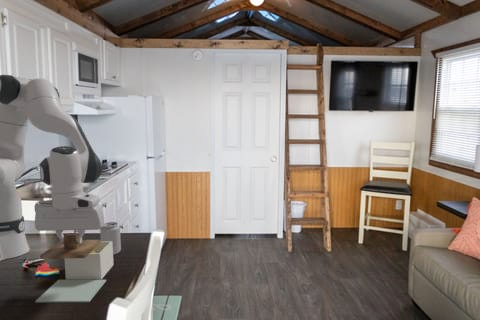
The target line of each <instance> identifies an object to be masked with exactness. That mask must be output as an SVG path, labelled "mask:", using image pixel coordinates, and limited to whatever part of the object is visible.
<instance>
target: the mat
mask: <svg viewBox="0 0 480 320" xmlns="http://www.w3.org/2000/svg"><path fill="white" fill-rule="evenodd" d="M106 282H107V279H94V280H66V279H57V281H56V282H54V283H53V284H52V285H51V286H50V287H49V288H48V289H46V290H45V292H43V293H42V294H41V295H40V296H39V297H38V298H36V300H35V301H34V302H35V303H90V302H91V301H92V299H94V297H95V296H96V295H97V293H98V292H99V290H101V288H102V287H103V286H104V284H105V283H106Z"/></svg>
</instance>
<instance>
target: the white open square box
mask: <svg viewBox="0 0 480 320" xmlns="http://www.w3.org/2000/svg"><path fill="white" fill-rule="evenodd" d="M92 251H94V252H95V253H89V254H88V255H87V256H86V257H85V258H69V259H64V269H65V270H64V271H65V272H64V273H65V280H103V278H105V276H106V275H107V274H108V272H109V271H110V270H111V269H112V268H113V266H114V255H113V244H112V241H101V243H100V244H99V245H98V246H97V247H96V248H94V249H93V250H92Z"/></svg>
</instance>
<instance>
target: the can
mask: <svg viewBox="0 0 480 320" xmlns="http://www.w3.org/2000/svg"><path fill="white" fill-rule="evenodd" d="M99 232H100V233H99V235H100V240H101V241H112V244H113V256H115V255H117V254H119V253H120V252H121V250H122V243H121V226H120V225H119V223H118V222H115V221H109V222H104V225H103V227H102V228H100V229H99Z"/></svg>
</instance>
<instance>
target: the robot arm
mask: <svg viewBox="0 0 480 320" xmlns="http://www.w3.org/2000/svg"><path fill="white" fill-rule="evenodd" d="M29 121H30V123H31V124H32V126H34V128H36V129H38V130H40V131H42V132H46V133H50V134H56V135H60V136H63V137H65V138H67V139H69V140H70V141H71V143H72V144H73V146H74V147H72V146H61V145H60V146H56V147H53V148H52V149H51V150H49V151H50V152H49V156H47V157H45V158H44V159H43V160H42V161H41V162H39V164H38V165H39V171H40V173H39V175H40V176H39V177H40V182H42V183H44V184H46V185H47V186H51V191H50V194H51V199H48V200H43V199H40V200H39V201H37V202H36V203H35V204H34V212H35V213H34V214H35V216H34V227H35V228H34V229H36V230H37V231H38V232H39V231H40V232H42V231H47V232H48V231H54V232H55V235H56V236H57V238H58V239H59V241H60V244H64V238H63V237H64V236H65V235H64V233H63V232H64V231H77V233H78V236H79V237H77V238H75V241H76V242H75V243H76V244H81V243H82V240H83V236H84V234H85V232H86V231H100V228H102V227H103V225H104V223H105V217H104V216H105V215H104V210H103V207H102V205H101V204H99V203H100V202H101V198H100V196H98V195H96V194H92V193H89V192H86V191H84V186H83V184H94V183H95V182H96V181H97V180H98V179H99V178H100V177H101V175H102V173H103V167H102V166H103V165H102V162H101V159H100V158H99V156H98V155H97V154H96V152H95V151H94V149H93V148H92V145H91V144H90V141H89V140H88V138H87V136H86V134H85V132H84V129H82V126H81V124H80V123H79V121H78V120H77V118H75V117H74V116H72V115H70V114H69V113H68V112H67V111H66V110H65V109H64V107H63V106H62V103H61V100H60V93H59V90H58V89H57V88H56V87H55V86H54V85H53V84H52V82H50V81H49V80H47V79H46V78H41V77H40V78H39V77H38V78H33V79H31V78H25V77H21V76H20V77H19V76H13V75H12V74H11V75H10V74H0V262H1V261H3V260H8V259H13V258H16V257H20V256H23V255H25V254H27V253H29V252H30V250H31V247H30V246H29V243H28V241H27V238H26V237H27V236H26V233H25V227H26V226H25V225H26V224H25V217H24V215H23V208H22V206H23V205H22V198H21V196H20V195H19V192H18V190H17V186H16V181H17V180H19V179H20V178H21V177H22V175H24V171H25V168H26V165H25V145H26V144H25V143H26V138H27V134H28V133H27V132H28V128H29Z"/></svg>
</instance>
